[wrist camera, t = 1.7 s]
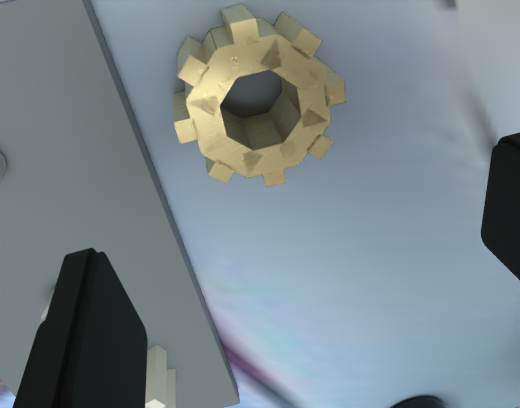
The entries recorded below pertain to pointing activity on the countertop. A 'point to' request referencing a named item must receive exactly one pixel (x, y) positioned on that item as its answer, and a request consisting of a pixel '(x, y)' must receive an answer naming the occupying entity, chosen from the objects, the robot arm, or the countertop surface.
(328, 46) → the countertop surface
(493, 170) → the robot arm
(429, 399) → the supplement bottle
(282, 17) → the brass gear
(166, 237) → the gear board
